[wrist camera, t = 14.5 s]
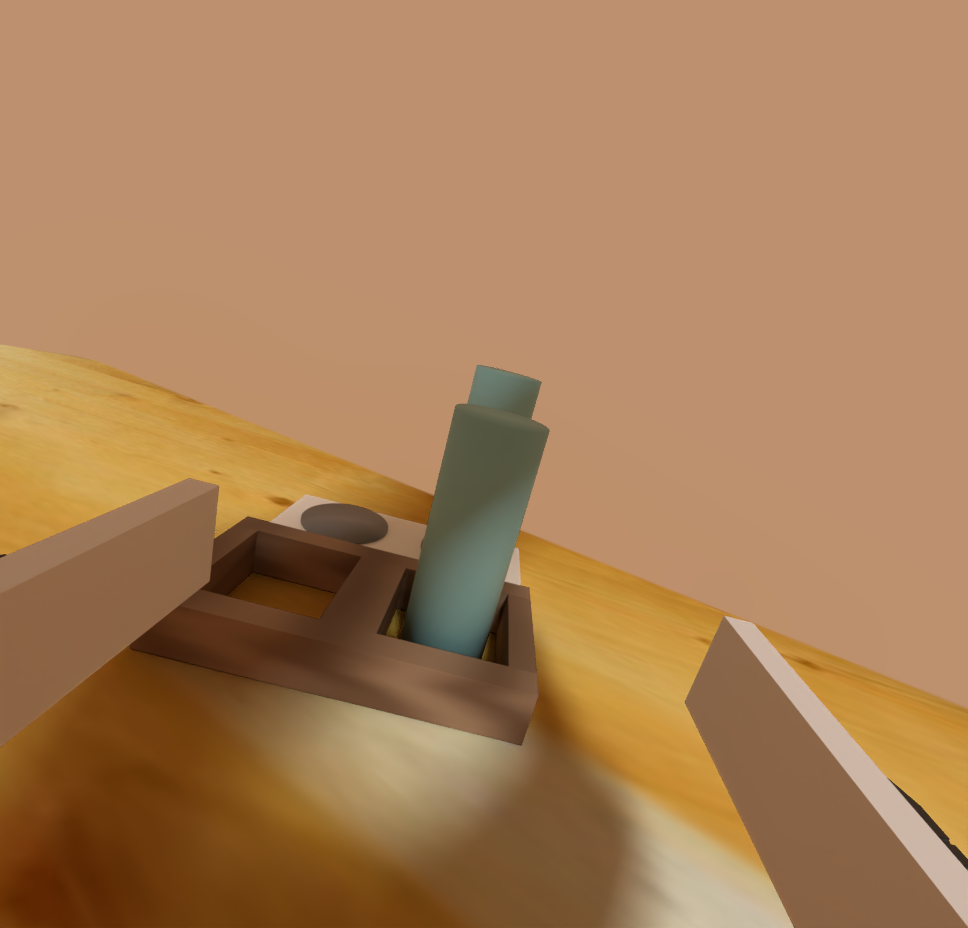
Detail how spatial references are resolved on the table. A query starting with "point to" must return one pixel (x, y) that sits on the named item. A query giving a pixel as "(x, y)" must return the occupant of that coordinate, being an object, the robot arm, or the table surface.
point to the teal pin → (473, 528)
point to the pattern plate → (365, 528)
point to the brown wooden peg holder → (349, 634)
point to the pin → (504, 391)
